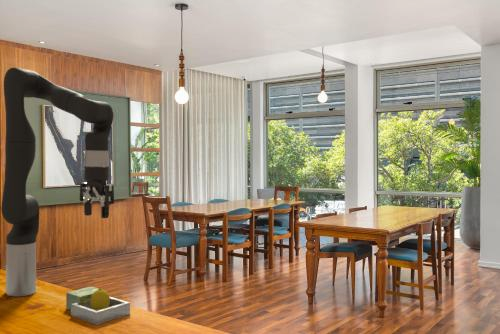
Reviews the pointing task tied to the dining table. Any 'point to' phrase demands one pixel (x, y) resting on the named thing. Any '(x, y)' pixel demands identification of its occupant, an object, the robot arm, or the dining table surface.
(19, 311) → the dining table surface
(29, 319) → the dining table surface
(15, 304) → the dining table surface
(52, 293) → the dining table surface
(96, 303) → the lemon
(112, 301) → the square open box
